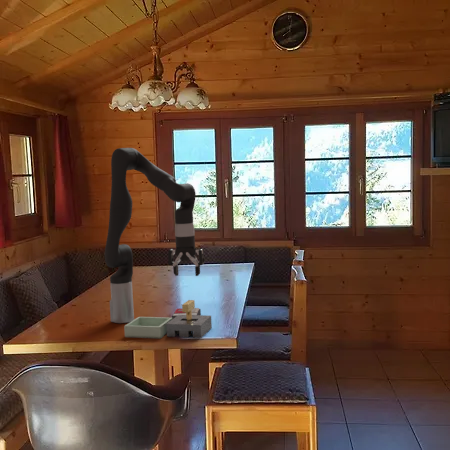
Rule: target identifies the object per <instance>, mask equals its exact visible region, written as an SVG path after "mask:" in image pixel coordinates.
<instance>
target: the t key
mask: <svg viewBox="0 0 450 450" xmlns="http://www.w3.org/2000/svg"><path fill="white" fill-rule="evenodd" d="M195 304H196V303H195V299H188V300H187V301H185V302H184V303H183V304H181V309H182V312H186V320H187V321H192V309H194V308H196V307H195ZM191 333H193V331H191Z"/></svg>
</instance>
